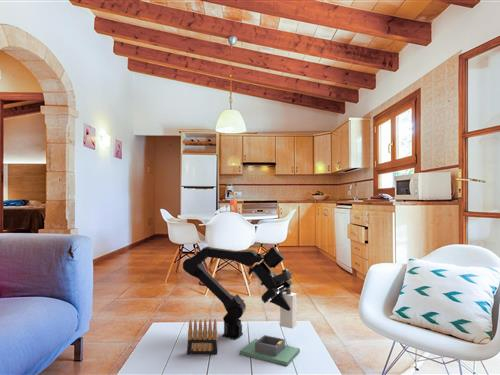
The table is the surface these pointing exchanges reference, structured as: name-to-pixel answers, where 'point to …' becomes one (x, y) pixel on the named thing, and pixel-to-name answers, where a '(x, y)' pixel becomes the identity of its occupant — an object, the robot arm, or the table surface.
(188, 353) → the ammunition clip
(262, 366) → the table surface
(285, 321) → the plug block
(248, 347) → the header board
